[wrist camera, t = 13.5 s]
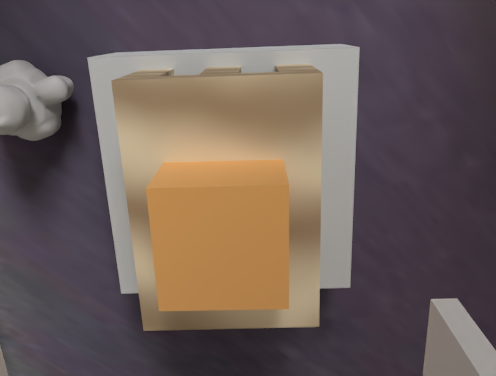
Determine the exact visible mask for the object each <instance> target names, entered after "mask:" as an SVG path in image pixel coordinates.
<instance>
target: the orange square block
mask: <svg viewBox="0 0 496 376" xmlns="http://www.w3.org/2000/svg"><path fill="white" fill-rule="evenodd" d="M146 194H147V203H148V213H149V222H150V232H151V241H152V250H153V260H154V269H155V279H156V288H157V298H158V307H159V311H208V310H266V309H289V182H288V178H287V173H286V169H285V164H284V160H243V161H201V162H163V164H162V165H161V167H160V168H159V170H158V171H157V173H156V174H155V176H154V177H153V179H152V180H151V182H150V183H149V185H148V186H147V188H146Z"/></svg>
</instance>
